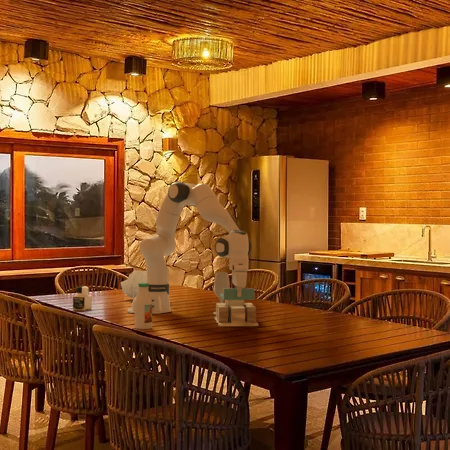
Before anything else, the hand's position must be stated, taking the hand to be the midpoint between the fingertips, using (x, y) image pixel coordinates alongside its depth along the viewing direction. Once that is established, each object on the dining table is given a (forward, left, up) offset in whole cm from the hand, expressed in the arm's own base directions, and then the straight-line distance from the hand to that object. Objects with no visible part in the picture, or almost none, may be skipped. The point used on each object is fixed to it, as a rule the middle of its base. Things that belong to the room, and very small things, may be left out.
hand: (238, 296), depth 308 cm
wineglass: (-4, +33, -14) cm, 35 cm away
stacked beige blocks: (0, +8, -13) cm, 15 cm away
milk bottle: (-43, -5, -14) cm, 46 cm away
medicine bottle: (-75, +54, -14) cm, 93 cm away
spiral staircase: (-43, +86, -14) cm, 97 cm away
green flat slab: (0, +6, -2) cm, 6 cm away
